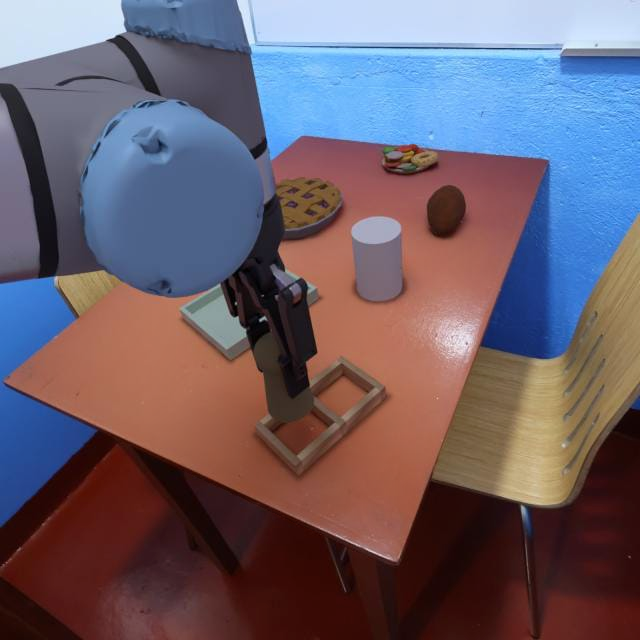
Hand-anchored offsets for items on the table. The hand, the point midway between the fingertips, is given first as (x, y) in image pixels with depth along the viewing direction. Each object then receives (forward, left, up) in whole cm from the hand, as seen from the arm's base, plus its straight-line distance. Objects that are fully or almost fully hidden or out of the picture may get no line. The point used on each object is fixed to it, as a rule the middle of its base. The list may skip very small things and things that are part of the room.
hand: (283, 377), depth 56 cm
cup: (+30, +13, -12) cm, 35 cm away
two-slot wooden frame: (+4, 0, -12) cm, 13 cm away
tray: (+11, +27, -12) cm, 32 cm away
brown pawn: (0, 0, -5) cm, 5 cm away
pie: (+37, +45, -12) cm, 60 cm away
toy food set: (+70, +40, -12) cm, 82 cm away
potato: (+53, +16, -12) cm, 57 cm away
